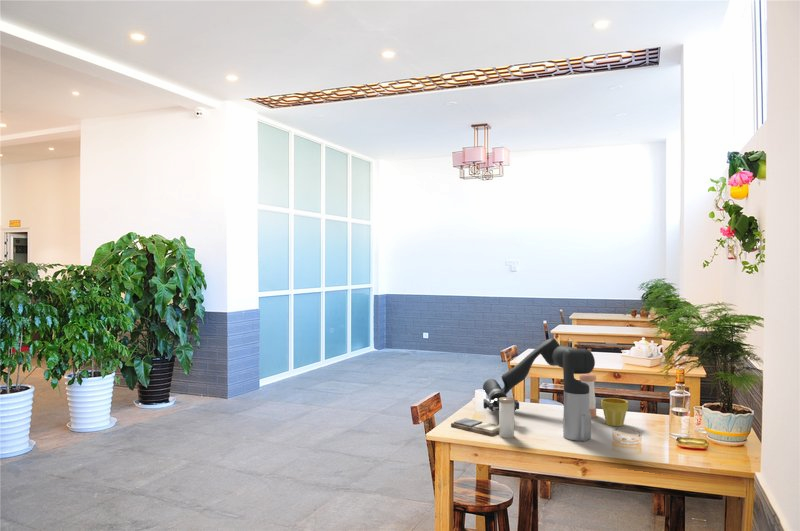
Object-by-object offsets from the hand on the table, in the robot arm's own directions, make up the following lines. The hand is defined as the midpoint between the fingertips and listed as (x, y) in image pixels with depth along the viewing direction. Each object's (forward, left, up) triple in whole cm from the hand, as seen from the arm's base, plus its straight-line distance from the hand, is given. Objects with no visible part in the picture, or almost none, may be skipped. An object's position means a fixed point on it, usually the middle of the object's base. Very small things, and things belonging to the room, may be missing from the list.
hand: (503, 408), depth 230 cm
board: (+7, +7, -8) cm, 13 cm away
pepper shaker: (-17, -42, -8) cm, 46 cm away
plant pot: (-31, -36, -8) cm, 48 cm away
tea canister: (-6, +8, -8) cm, 13 cm away
